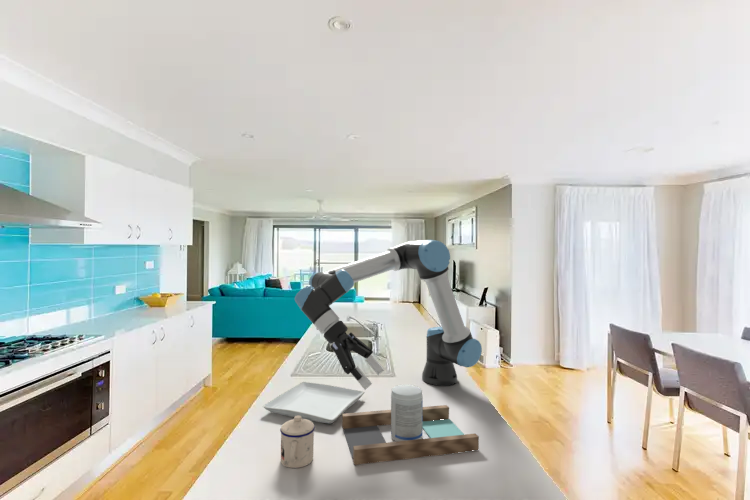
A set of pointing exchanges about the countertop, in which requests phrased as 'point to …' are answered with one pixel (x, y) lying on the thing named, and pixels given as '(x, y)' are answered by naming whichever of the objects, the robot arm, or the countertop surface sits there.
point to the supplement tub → (406, 413)
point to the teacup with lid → (297, 442)
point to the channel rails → (409, 447)
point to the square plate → (314, 402)
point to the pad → (441, 428)
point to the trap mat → (363, 436)
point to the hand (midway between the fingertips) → (375, 379)
